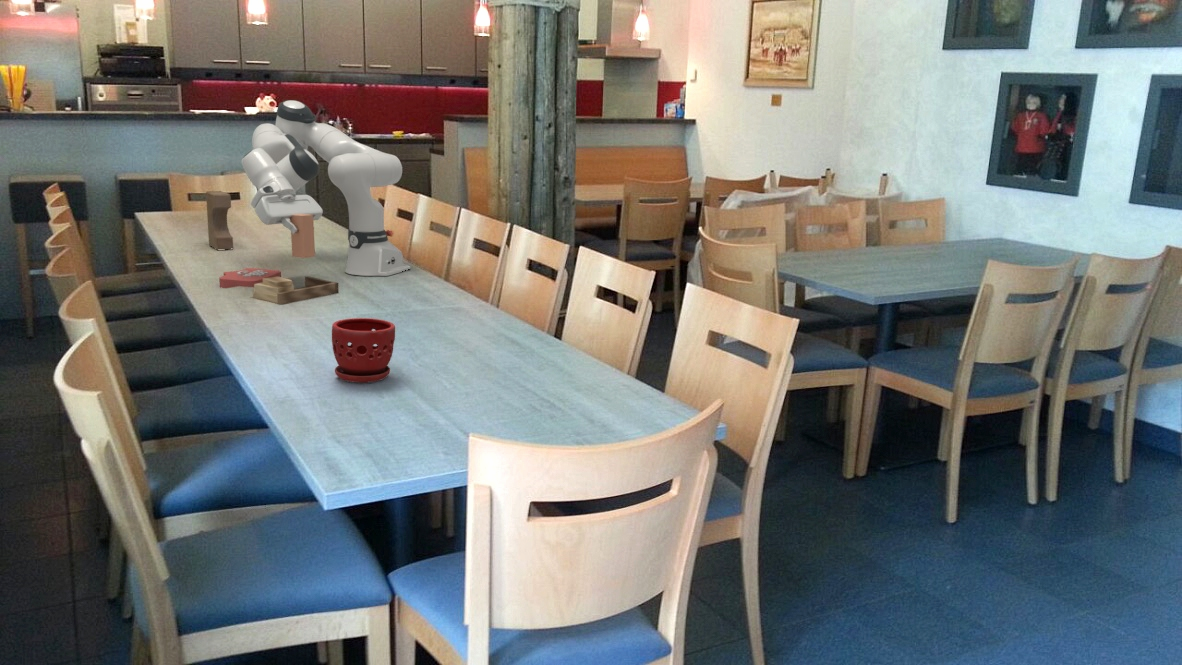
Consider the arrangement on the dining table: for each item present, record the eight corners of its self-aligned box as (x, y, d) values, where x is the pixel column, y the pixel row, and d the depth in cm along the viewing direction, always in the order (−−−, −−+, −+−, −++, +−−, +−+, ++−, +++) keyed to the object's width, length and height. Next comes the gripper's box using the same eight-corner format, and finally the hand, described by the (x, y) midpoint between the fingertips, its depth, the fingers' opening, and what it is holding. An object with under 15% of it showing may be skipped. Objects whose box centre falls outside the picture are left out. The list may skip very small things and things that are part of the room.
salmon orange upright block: (303, 255, 273) (301, 213, 270) (315, 256, 270) (313, 214, 267) (292, 256, 269) (290, 214, 267) (304, 258, 267) (302, 215, 264)
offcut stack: (273, 293, 270) (273, 274, 268) (299, 299, 264) (299, 280, 263) (252, 297, 264) (251, 278, 262) (278, 303, 258) (278, 284, 257)
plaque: (239, 265, 295) (283, 268, 293) (239, 277, 296) (283, 280, 294) (207, 275, 278) (254, 279, 276) (208, 288, 279) (254, 292, 277)
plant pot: (381, 389, 195) (380, 333, 192) (322, 383, 197) (320, 327, 194) (404, 371, 207) (404, 319, 204) (348, 365, 209) (347, 313, 206)
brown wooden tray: (308, 289, 282) (307, 276, 281) (338, 296, 275) (338, 282, 274) (249, 300, 264) (249, 286, 263) (280, 308, 258) (280, 293, 257)
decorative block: (233, 249, 338) (230, 194, 333) (217, 250, 335) (214, 194, 329) (224, 245, 346) (221, 190, 341) (208, 246, 343) (205, 191, 338)
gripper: (302, 200, 281) (326, 235, 278) (245, 204, 264) (270, 241, 261) (311, 186, 278) (336, 221, 275) (254, 189, 261) (280, 226, 258)
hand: (304, 231), depth 268 cm, fingers closed on salmon orange upright block, 4 cm apart
